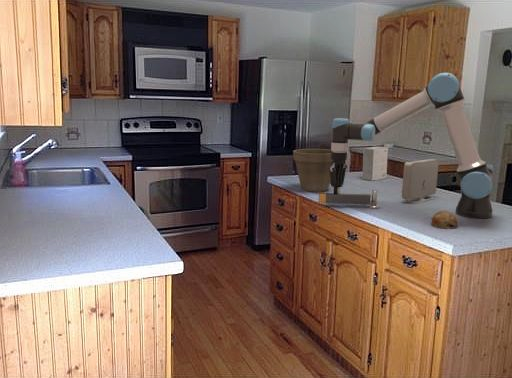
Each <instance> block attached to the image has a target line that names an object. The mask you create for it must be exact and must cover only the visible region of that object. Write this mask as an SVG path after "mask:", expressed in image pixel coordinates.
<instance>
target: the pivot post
mask: <svg viewBox="0 0 512 378" xmlns="http://www.w3.org/2000/svg"><path fill="white" fill-rule="evenodd" d="M377 200H378V190H375V189H372V190H371V204H370V205H368V204H366V206H367V208H368V209H372V210H374V209H375V210H376V209H377V210H378V209H381V205H379V204H378V202H377Z"/></svg>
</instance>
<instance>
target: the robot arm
mask: <svg viewBox="0 0 512 378" xmlns="http://www.w3.org/2000/svg"><path fill="white" fill-rule="evenodd" d="M464 101H465V97H464V94H463V91H462V88H461V82H460V79H458V77H456V76H455V75H454V74H453V73H450V72H440V73H437V74H436V75H435V76H433V77H432V78H431V80H430V81H429V82H428V84H427V86H425V87H424V88H423V91H421V92H419V93H417V94H415V95H413V96H411V97H410V98H408V99H406V100H404V101H403V102H400V103H399V104H397V105H395V106H393V107H391V108H390V109H388V110H386V111H384V112H383V113H380V114H378V115H377V116H376V117H374V118H372V119H370V120H368V121H366V122H363V123H350V121H349V118H343V117H342V118H339V117H337V118H333V121H332V127H331V144H330V145H331V146H330V150H332V152H331V160H333V163H332V167H329V171H330V179H331V183H330V187H331V188H333V193H340V194H341V188H343V185H344V182H345V178H346V172H347V168H348V164H345V161H347V159H348V158H347V157H348V153H347V151H348V147H349V146H348V145H349V144H348V143H349V140H350V141H351V140H352V141H364V142H369V141H371V142H372V141H373V140H374V139H375V136H377V135H378V134H380V133H383V132H384V131H385V130H387V129H389V128H391V127H394V126H395V125H398V124H399V123H401V122H404V121H405V120H407V119H408V118H411V117H413V116H414V115H416V114H418V113H420V112H421V111H425V110H426V109H427V108H429V107H434V108H435V110H436V111H438V112H439V113H441V114H440V115H441V117H442V120H443V123H444V125H445V128H446V132H447V134H448V137H449V141H450V143H451V146H452V149H453V152H454V155H455V157H456V162H457V163H458V165H457V166H458V167H457V169H456V174H457V176H458V179H459V182H460V190H461V196H460V198H459V201H458V203H457V204H456V206H455V214H457V215H459V216H461V217H467V218H470V219H471V218H474V219H490V218H492V217H493V208H492V203H491V193H492V190H493V187H494V183H493V174H494V166H493V164H487V162H486V161H484V160H482V159H481V157H480V155H479V151H478V148H477V145H476V142H475V139H474V137H473V133H472V131H471V128H470V124H469V121H468V118H467V115H466V112H465V109H464V105H463V104H464Z"/></svg>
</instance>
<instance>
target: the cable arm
mask: <svg viewBox="0 0 512 378" xmlns="http://www.w3.org/2000/svg"><path fill="white" fill-rule="evenodd" d="M370 200H372V194H370V193H341V192H340V193H334V192H332V193H331V192H330V193H329V192H318V204H324V205H325V204H328V205H329V204H331V205H338V204H339V205H340V204H341V205H370Z"/></svg>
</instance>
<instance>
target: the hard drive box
mask: <svg viewBox="0 0 512 378" xmlns="http://www.w3.org/2000/svg"><path fill="white" fill-rule="evenodd" d="M388 152H389V147H386V146H372V147H364V148H363V156H362V157H363V160H362V161H363V162H362V164H363V165H362V177H361V178H362V180H363V179H366V180H365V181H369V180H371V181H370V182H373V180H375V181H378V180H379V181H380V180H384V179H385V180H386V179H387V177H388V176H387V174H388V173H387V172H388V171H387V170H388Z"/></svg>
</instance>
